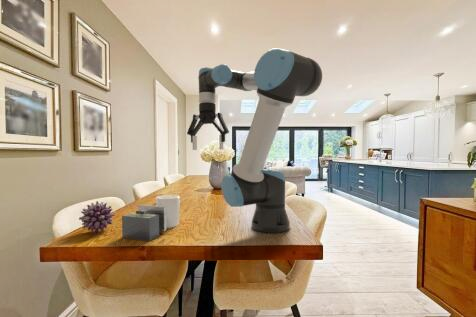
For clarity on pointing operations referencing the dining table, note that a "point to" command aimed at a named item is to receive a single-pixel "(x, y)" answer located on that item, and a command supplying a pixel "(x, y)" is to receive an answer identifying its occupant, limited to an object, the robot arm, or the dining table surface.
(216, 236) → the dining table surface
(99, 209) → the flower
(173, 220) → the white cream cup
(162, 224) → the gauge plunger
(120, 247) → the dining table surface
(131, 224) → the box
